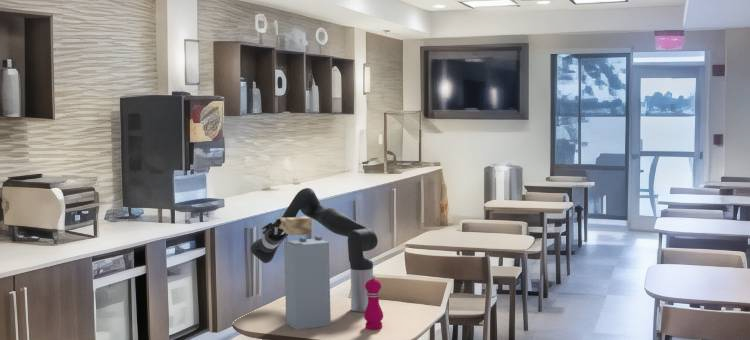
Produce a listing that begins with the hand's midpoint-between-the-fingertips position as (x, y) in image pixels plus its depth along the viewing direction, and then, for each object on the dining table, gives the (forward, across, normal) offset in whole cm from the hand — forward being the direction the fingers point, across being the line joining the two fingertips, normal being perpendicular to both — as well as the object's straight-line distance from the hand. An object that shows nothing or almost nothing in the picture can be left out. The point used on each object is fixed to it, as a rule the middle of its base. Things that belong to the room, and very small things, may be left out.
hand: (284, 220), depth 322 cm
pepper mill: (+6, -24, -49) cm, 55 cm away
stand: (-8, -4, -40) cm, 41 cm away
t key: (+4, 0, -6) cm, 7 cm away
